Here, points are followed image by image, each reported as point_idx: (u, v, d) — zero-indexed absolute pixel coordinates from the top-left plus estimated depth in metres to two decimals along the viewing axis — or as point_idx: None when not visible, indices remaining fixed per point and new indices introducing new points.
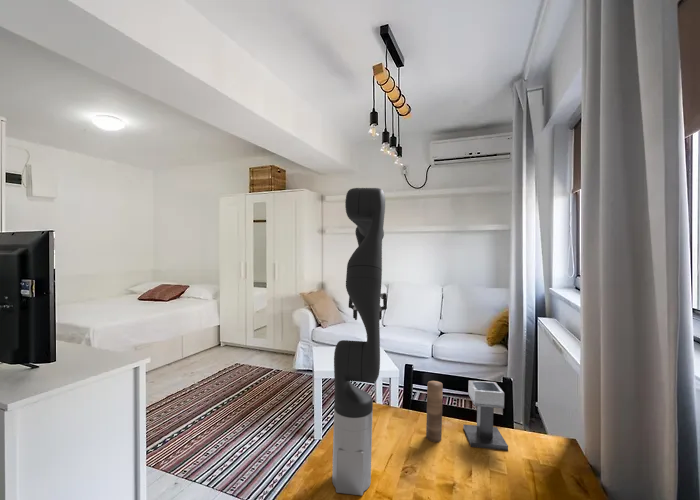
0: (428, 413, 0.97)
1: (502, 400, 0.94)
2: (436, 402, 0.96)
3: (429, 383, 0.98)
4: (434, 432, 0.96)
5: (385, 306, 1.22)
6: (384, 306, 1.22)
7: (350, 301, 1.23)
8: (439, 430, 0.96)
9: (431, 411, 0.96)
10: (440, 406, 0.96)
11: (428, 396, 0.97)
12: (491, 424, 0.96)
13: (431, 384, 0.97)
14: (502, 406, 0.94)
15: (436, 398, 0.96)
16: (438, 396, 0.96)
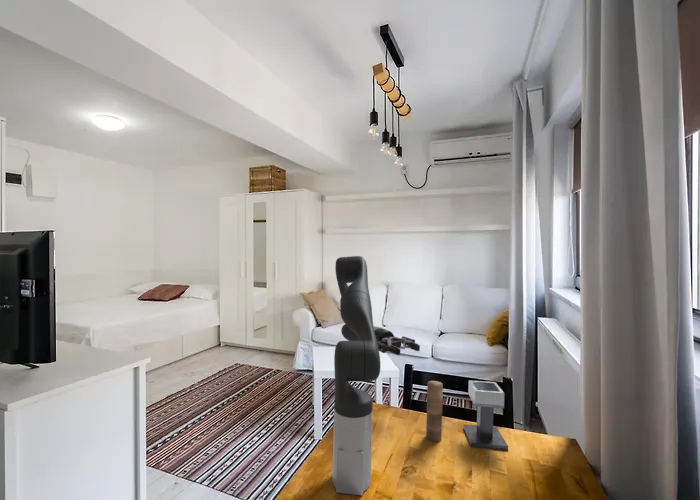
0: (428, 413, 0.97)
1: (502, 400, 0.94)
2: (436, 402, 0.96)
3: (429, 383, 0.98)
4: (434, 432, 0.96)
5: (412, 339, 1.16)
6: (411, 339, 1.16)
7: (380, 343, 1.10)
8: (439, 430, 0.96)
9: (431, 411, 0.96)
10: (440, 406, 0.96)
11: (428, 396, 0.97)
12: (491, 424, 0.96)
13: (431, 384, 0.97)
14: (502, 406, 0.94)
15: (436, 398, 0.96)
16: (438, 396, 0.96)
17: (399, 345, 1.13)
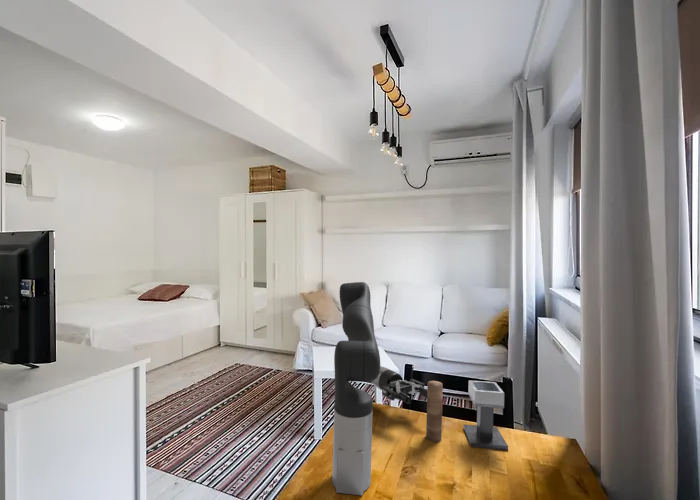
0: (428, 413, 0.97)
1: (502, 400, 0.94)
2: (436, 402, 0.96)
3: (429, 383, 0.98)
4: (434, 432, 0.96)
5: (421, 383, 1.12)
6: (420, 383, 1.11)
7: (389, 389, 1.05)
8: (439, 430, 0.96)
9: (431, 411, 0.96)
10: (440, 406, 0.96)
11: (428, 396, 0.97)
12: (491, 424, 0.96)
13: (431, 384, 0.97)
14: (502, 406, 0.94)
15: (436, 398, 0.96)
16: (438, 396, 0.96)
17: (408, 390, 1.09)
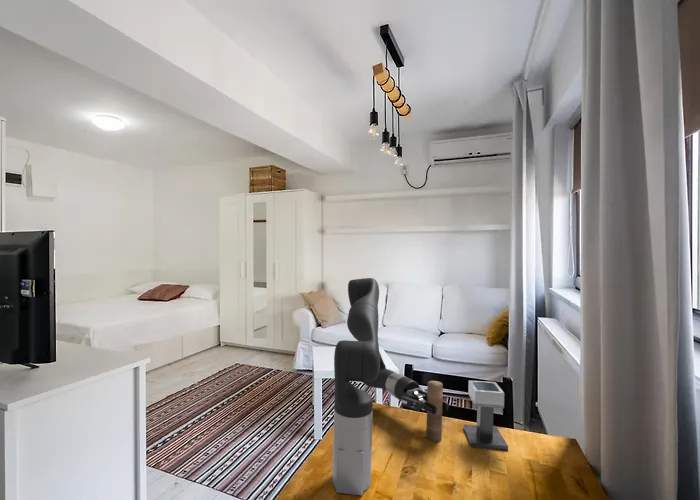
0: (428, 413, 0.97)
1: (502, 400, 0.94)
2: (436, 402, 0.96)
3: (429, 383, 0.98)
4: (434, 432, 0.96)
5: None
6: None
7: (412, 399, 0.99)
8: (439, 430, 0.96)
9: None
10: (440, 406, 0.96)
11: (428, 396, 0.97)
12: (491, 424, 0.96)
13: (431, 384, 0.97)
14: (502, 406, 0.94)
15: (436, 398, 0.96)
16: (438, 396, 0.96)
17: (423, 400, 1.02)
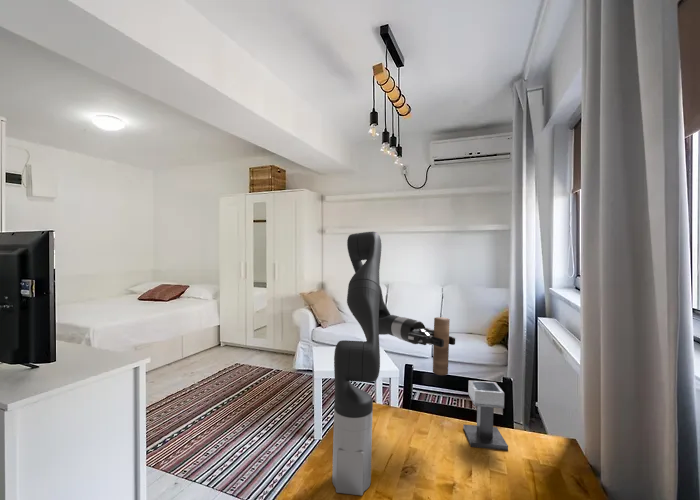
0: (435, 347, 0.97)
1: (502, 400, 0.94)
2: (443, 335, 0.96)
3: (436, 318, 0.98)
4: (441, 365, 0.96)
5: None
6: None
7: (419, 335, 0.99)
8: (446, 364, 0.96)
9: None
10: (447, 340, 0.97)
11: (435, 331, 0.98)
12: (491, 424, 0.96)
13: (438, 319, 0.97)
14: (502, 406, 0.94)
15: (443, 331, 0.96)
16: (445, 329, 0.96)
17: None
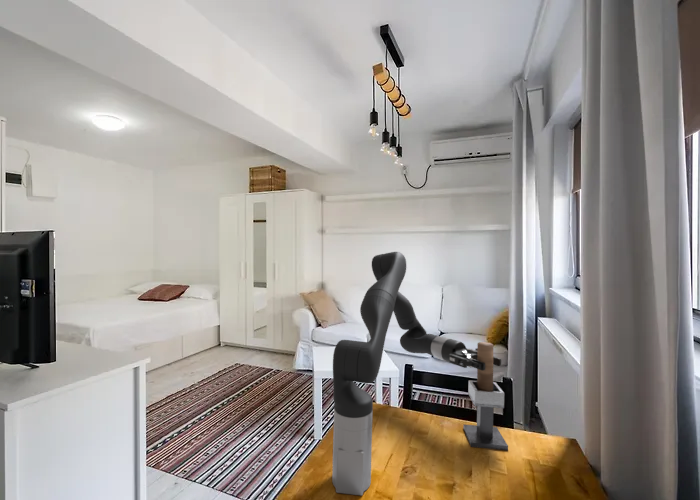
0: (479, 373, 0.97)
1: (502, 400, 0.94)
2: (488, 361, 0.96)
3: (479, 343, 0.99)
4: None
5: None
6: None
7: (459, 357, 0.99)
8: (491, 389, 0.96)
9: (483, 371, 0.97)
10: (492, 366, 0.97)
11: (479, 356, 0.98)
12: (491, 424, 0.96)
13: (482, 344, 0.98)
14: (502, 406, 0.94)
15: (487, 357, 0.96)
16: (490, 355, 0.96)
17: (475, 358, 1.02)
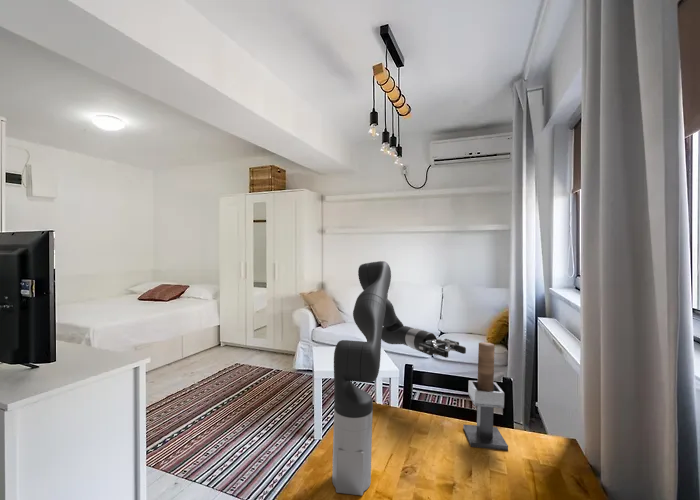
0: (480, 373, 0.97)
1: (502, 400, 0.94)
2: (489, 361, 0.96)
3: (481, 344, 0.98)
4: None
5: (456, 342, 1.16)
6: (455, 342, 1.15)
7: (427, 346, 1.10)
8: (491, 390, 0.96)
9: (484, 371, 0.96)
10: (492, 366, 0.97)
11: (480, 356, 0.98)
12: (491, 424, 0.96)
13: (483, 345, 0.97)
14: (502, 406, 0.94)
15: (488, 357, 0.96)
16: (491, 355, 0.96)
17: (444, 347, 1.13)
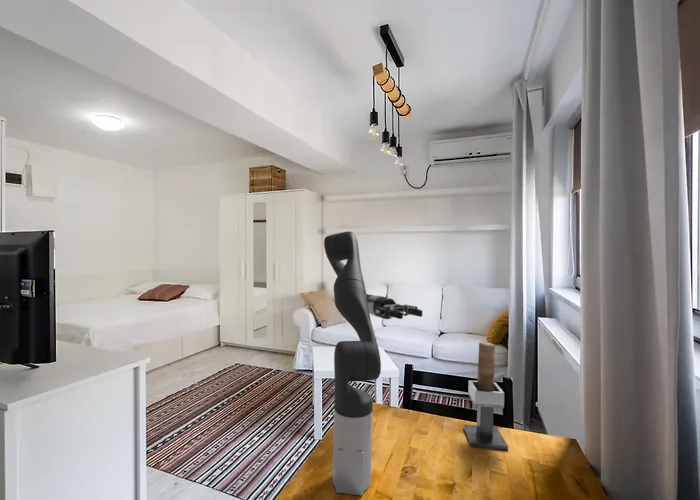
0: (480, 373, 0.97)
1: (502, 400, 0.94)
2: (489, 362, 0.96)
3: (481, 344, 0.98)
4: None
5: (414, 306, 1.14)
6: (414, 306, 1.14)
7: (382, 308, 1.08)
8: (491, 390, 0.96)
9: (484, 371, 0.96)
10: (493, 366, 0.96)
11: (480, 356, 0.97)
12: (491, 424, 0.96)
13: (484, 345, 0.97)
14: (502, 406, 0.94)
15: (489, 358, 0.96)
16: (491, 356, 0.96)
17: (401, 311, 1.11)
